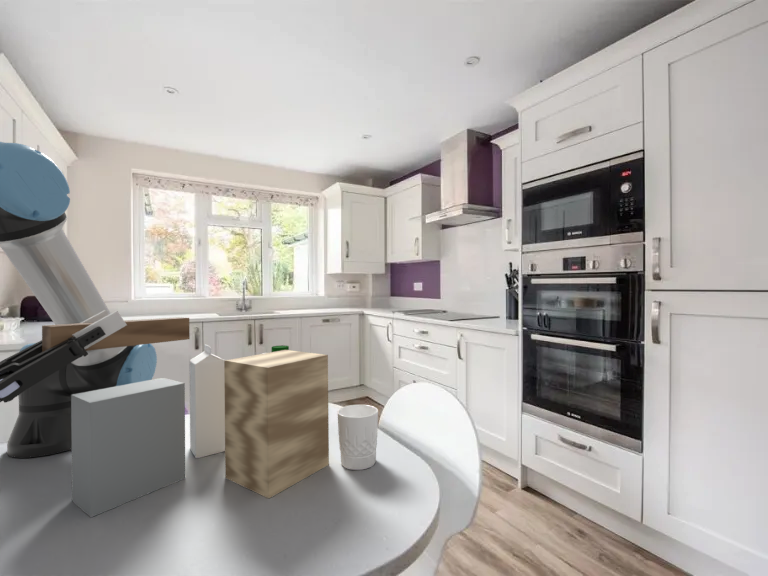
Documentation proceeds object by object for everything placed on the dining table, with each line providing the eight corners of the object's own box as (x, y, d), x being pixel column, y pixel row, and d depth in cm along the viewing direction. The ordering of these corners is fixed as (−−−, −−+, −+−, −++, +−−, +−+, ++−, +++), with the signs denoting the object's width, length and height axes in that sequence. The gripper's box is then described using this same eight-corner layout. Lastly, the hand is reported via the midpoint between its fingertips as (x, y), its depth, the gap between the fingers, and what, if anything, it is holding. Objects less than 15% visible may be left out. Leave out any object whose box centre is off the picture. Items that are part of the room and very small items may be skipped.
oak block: (225, 478, 67) (224, 360, 67) (286, 450, 79) (285, 349, 79) (268, 498, 60) (267, 367, 60) (328, 464, 72) (327, 354, 72)
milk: (195, 459, 75) (194, 348, 75) (190, 448, 80) (188, 345, 80) (227, 450, 79) (226, 345, 79) (220, 441, 84) (218, 342, 84)
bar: (42, 352, 56) (41, 325, 56) (178, 337, 73) (178, 317, 73) (50, 354, 54) (50, 326, 54) (189, 339, 70) (189, 317, 70)
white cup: (345, 475, 68) (344, 419, 68) (333, 457, 75) (332, 407, 75) (385, 466, 71) (384, 413, 71) (369, 450, 78) (369, 402, 78)
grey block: (71, 500, 60) (71, 394, 60) (163, 466, 72) (162, 377, 72) (90, 517, 56) (90, 402, 56) (185, 478, 67) (184, 383, 67)
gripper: (-97, 415, 39) (124, 298, 56) (-110, 391, 49) (82, 298, 66) (-43, 464, 42) (151, 339, 59) (-65, 432, 52) (107, 333, 69)
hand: (114, 317), depth 62 cm, fingers closed on bar, 4 cm apart
